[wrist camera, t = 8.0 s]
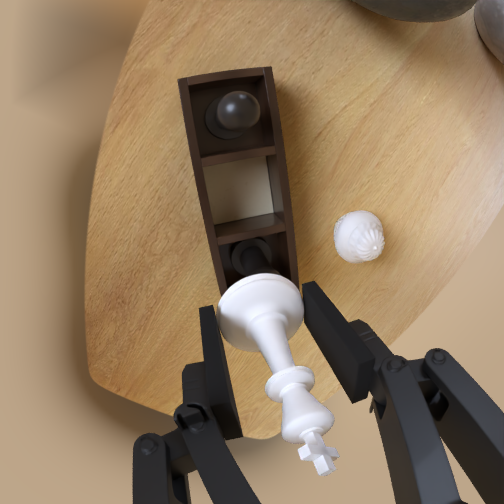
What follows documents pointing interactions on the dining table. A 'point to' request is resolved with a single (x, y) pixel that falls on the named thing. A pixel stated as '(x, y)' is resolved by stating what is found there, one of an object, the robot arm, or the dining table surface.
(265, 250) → the ebony piece
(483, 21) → the vase
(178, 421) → the robot arm
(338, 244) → the muffin
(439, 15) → the bowl
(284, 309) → the chess piece
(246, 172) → the rack
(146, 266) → the dining table surface
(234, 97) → the ebony piece
